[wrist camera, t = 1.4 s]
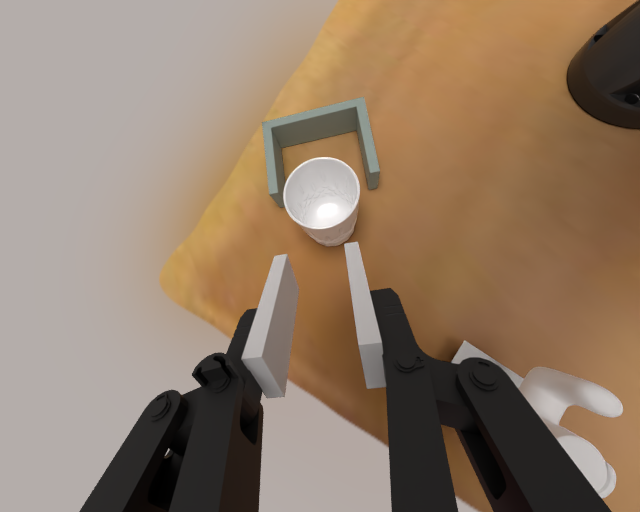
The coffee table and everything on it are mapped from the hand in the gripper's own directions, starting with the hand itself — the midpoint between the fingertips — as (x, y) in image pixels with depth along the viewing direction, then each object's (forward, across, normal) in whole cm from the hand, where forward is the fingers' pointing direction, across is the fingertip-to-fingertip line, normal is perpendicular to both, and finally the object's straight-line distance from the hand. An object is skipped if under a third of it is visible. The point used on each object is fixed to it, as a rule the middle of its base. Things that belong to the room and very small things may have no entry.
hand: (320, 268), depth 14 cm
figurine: (+4, +12, -22) cm, 26 cm away
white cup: (+19, 0, -6) cm, 21 cm away
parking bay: (+26, 0, 0) cm, 26 cm away
